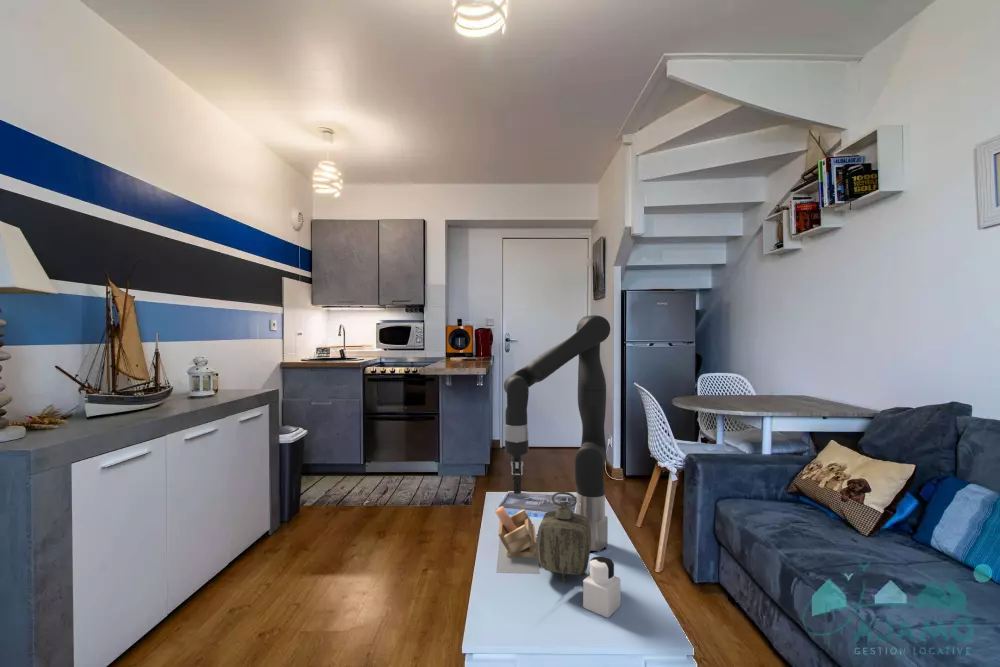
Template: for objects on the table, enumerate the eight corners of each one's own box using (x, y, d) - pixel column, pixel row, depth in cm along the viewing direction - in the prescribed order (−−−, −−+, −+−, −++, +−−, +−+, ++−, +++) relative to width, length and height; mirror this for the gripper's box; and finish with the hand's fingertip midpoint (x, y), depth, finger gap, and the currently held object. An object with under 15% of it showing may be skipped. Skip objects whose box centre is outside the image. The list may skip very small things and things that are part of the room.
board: (539, 577, 132) (539, 573, 132) (496, 576, 133) (496, 572, 133) (536, 540, 155) (536, 536, 155) (499, 539, 156) (499, 536, 156)
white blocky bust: (595, 595, 124) (595, 550, 123) (620, 605, 119) (621, 559, 119) (582, 607, 118) (582, 561, 118) (608, 619, 114) (608, 570, 113)
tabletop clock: (591, 575, 133) (591, 489, 133) (588, 593, 124) (588, 500, 124) (541, 568, 137) (541, 484, 137) (535, 585, 128) (535, 495, 128)
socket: (535, 537, 155) (535, 509, 155) (536, 557, 141) (536, 526, 141) (500, 536, 155) (500, 508, 155) (498, 556, 142) (498, 525, 142)
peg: (516, 535, 151) (498, 507, 151) (523, 534, 149) (505, 505, 149) (511, 542, 148) (493, 513, 148) (518, 541, 146) (499, 511, 146)
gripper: (505, 433, 155) (506, 481, 155) (504, 443, 141) (505, 496, 141) (527, 433, 155) (528, 481, 155) (529, 443, 141) (529, 496, 141)
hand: (517, 488), depth 148 cm, fingers open, 8 cm apart
